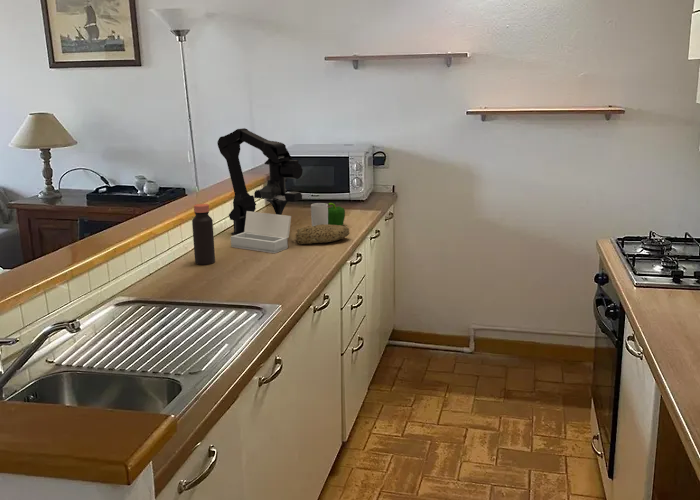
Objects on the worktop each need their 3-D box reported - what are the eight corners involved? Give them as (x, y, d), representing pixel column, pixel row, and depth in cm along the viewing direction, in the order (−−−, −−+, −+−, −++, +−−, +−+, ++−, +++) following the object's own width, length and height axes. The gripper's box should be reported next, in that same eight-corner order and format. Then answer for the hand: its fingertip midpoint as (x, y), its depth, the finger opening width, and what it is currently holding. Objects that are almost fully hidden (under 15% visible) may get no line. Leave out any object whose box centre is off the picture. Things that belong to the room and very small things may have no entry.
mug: (325, 236, 273) (325, 206, 270) (309, 235, 275) (308, 206, 272) (332, 230, 283) (332, 201, 280) (316, 230, 284) (315, 201, 281)
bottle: (208, 258, 244) (204, 202, 239) (219, 262, 239) (215, 204, 234) (191, 262, 239) (187, 205, 234) (202, 266, 234) (198, 207, 229)
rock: (298, 250, 259) (350, 238, 258) (293, 229, 258) (346, 217, 258) (301, 247, 272) (351, 236, 271) (296, 228, 272) (346, 217, 271)
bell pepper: (346, 224, 295) (345, 200, 292) (344, 228, 287) (343, 204, 285) (326, 223, 296) (326, 200, 293) (324, 228, 288) (323, 204, 285)
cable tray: (231, 246, 259) (230, 236, 258) (244, 242, 266) (244, 232, 265) (274, 253, 250) (274, 242, 248) (287, 248, 256) (287, 237, 255)
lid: (246, 210, 265) (248, 211, 266) (244, 231, 265) (245, 232, 266) (289, 215, 255) (291, 216, 256) (287, 237, 255) (288, 237, 256)
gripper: (244, 178, 260) (246, 219, 264) (285, 181, 251) (286, 223, 255) (262, 174, 269) (264, 213, 273) (302, 177, 260) (303, 218, 264)
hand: (278, 217), depth 266 cm, fingers closed
